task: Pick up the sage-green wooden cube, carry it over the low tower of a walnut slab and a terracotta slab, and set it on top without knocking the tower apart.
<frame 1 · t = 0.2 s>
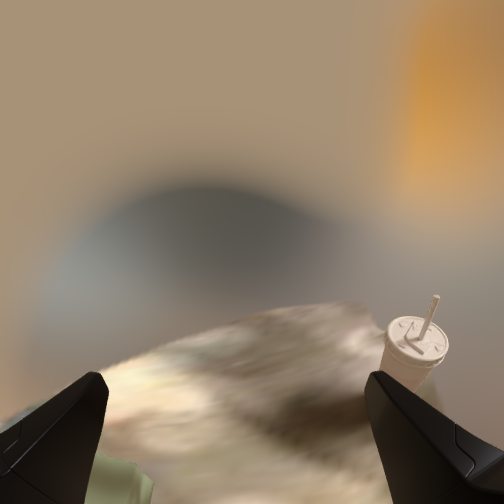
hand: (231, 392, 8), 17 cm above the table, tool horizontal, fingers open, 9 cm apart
cube: (122, 499, 13), on the table
smoothie: (384, 403, 23), on the table
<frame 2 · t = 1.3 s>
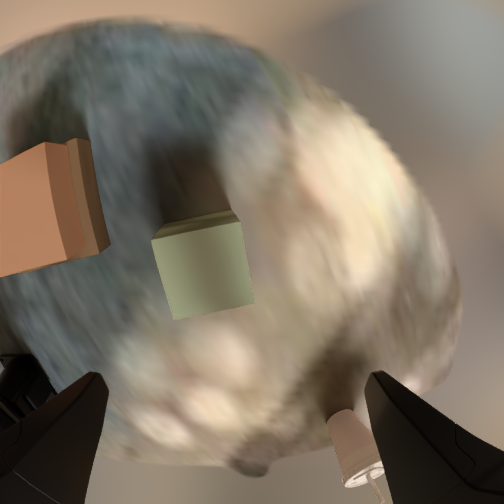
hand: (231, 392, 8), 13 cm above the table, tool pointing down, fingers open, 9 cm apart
cube: (204, 249, 20), on the table
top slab: (37, 208, 14), point 2 cm above the table
smoothie: (339, 417, 29), on the table
bottom slab: (59, 205, 17), on the table
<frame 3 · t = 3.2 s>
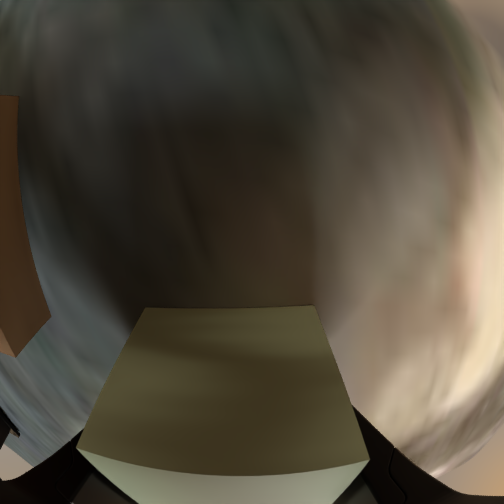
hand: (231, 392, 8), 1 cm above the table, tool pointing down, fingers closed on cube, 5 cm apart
cube: (232, 369, 9), on the table, touching gripper
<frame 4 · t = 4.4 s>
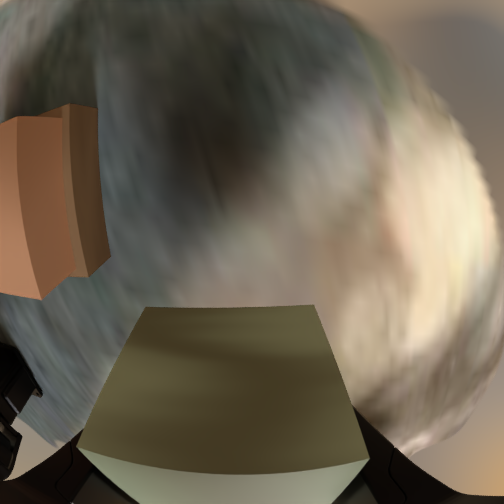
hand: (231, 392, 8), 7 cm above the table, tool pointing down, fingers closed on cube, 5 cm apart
cube: (232, 368, 9), point 6 cm above the table, touching gripper
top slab: (18, 201, 10), point 3 cm above the table, touching bottom slab
bottom slab: (51, 190, 12), on the table, touching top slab
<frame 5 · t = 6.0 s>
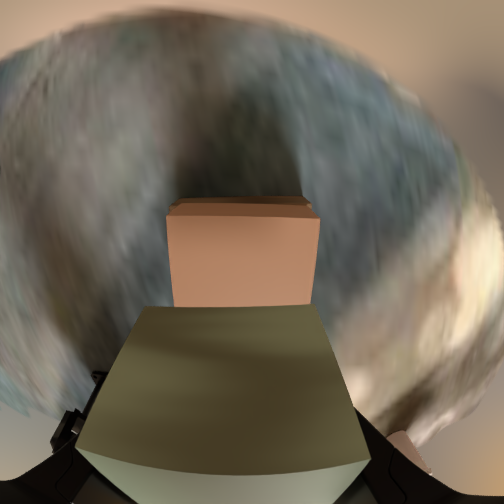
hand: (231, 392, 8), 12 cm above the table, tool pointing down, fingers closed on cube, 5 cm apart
cube: (232, 368, 9), point 11 cm above the table, touching gripper
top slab: (242, 262, 16), point 3 cm above the table
smoothie: (394, 436, 30), on the table
bottom slab: (242, 252, 19), on the table
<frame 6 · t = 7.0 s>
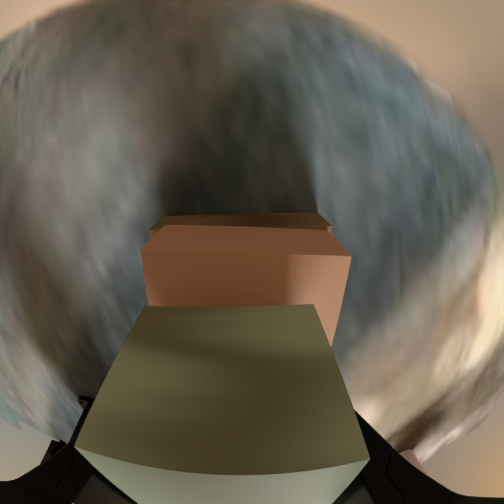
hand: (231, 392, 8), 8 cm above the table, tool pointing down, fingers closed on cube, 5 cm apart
cube: (232, 368, 9), point 7 cm above the table, touching gripper
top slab: (243, 299, 13), point 2 cm above the table, touching bottom slab
smoothie: (400, 454, 27), on the table
bottom slab: (242, 280, 16), on the table, touching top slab
when the fingers open (8 cm above the table, at t = 7.2 s): cube drops 1 cm, point 5 cm above the table.
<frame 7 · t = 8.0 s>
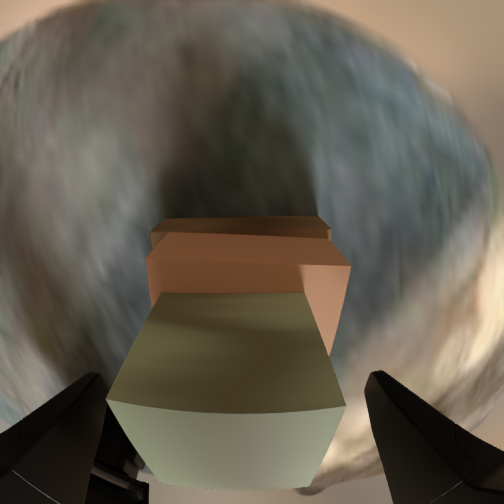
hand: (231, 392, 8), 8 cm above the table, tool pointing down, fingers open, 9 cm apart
cube: (234, 349, 10), point 5 cm above the table
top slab: (245, 305, 13), point 2 cm above the table, touching bottom slab
bottom slab: (242, 282, 16), on the table, touching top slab
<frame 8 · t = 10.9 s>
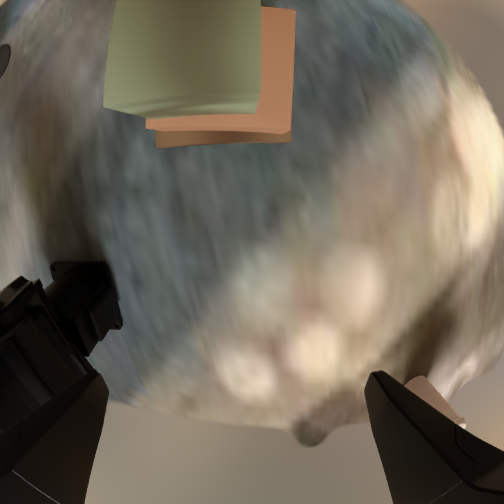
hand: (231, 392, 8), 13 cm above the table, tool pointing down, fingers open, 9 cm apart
cube: (203, 67, 11), point 6 cm above the table
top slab: (225, 75, 13), point 3 cm above the table, touching bottom slab
smoothie: (413, 384, 27), on the table
bottom slab: (225, 89, 16), on the table, touching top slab
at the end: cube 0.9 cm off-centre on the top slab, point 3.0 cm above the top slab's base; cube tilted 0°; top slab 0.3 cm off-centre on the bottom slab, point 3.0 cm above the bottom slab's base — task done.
